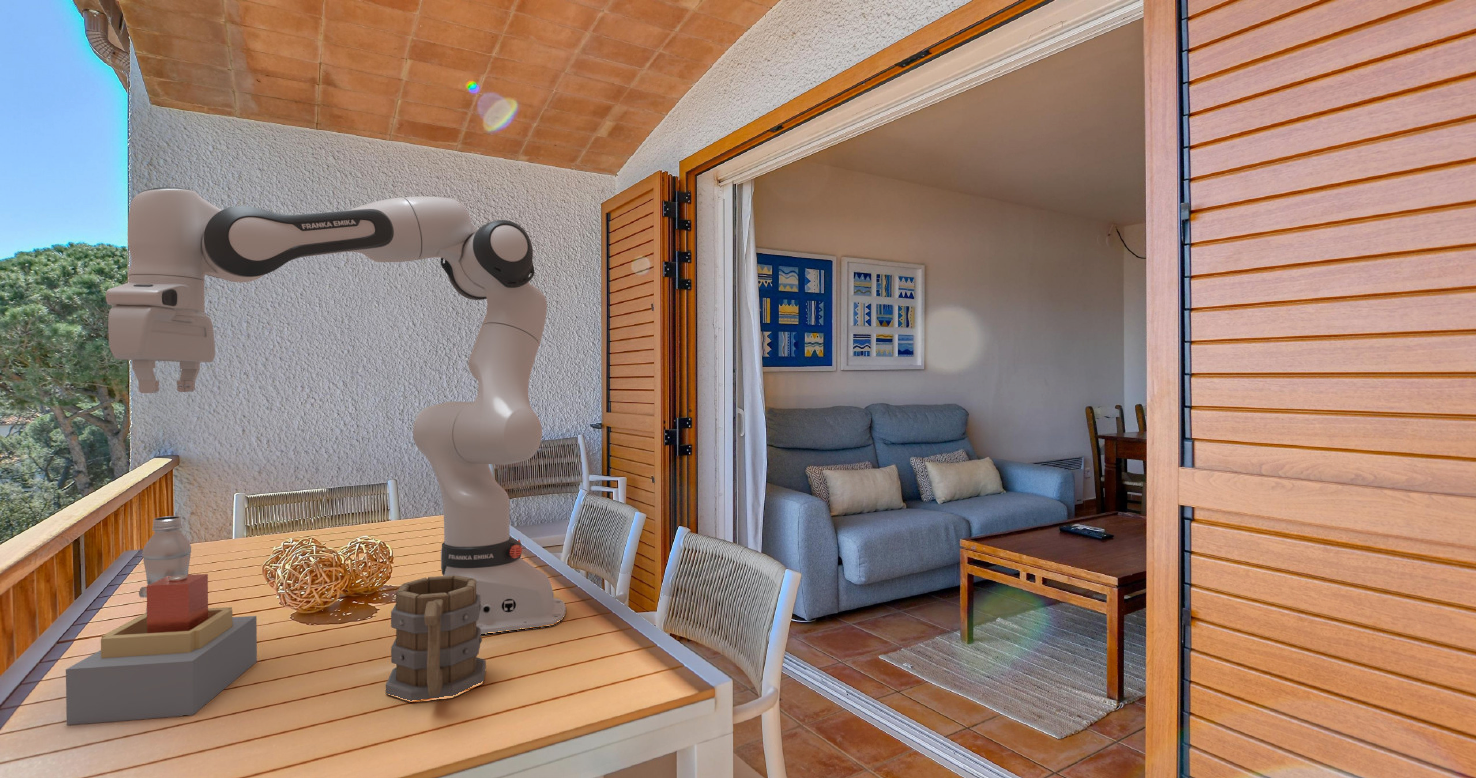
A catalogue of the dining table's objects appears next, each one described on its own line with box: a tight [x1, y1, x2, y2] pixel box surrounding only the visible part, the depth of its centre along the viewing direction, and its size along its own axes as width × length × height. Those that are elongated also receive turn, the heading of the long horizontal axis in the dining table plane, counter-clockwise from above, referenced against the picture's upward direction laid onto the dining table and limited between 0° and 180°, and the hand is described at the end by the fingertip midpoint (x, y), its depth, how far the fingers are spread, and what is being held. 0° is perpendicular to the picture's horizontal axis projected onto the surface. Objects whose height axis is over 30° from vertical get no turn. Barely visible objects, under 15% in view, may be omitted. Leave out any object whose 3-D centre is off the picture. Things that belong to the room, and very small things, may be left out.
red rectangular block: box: [138, 573, 209, 633], centre depth 101 cm, size 7×5×8 cm
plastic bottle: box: [141, 515, 192, 614], centre depth 121 cm, size 6×7×20 cm
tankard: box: [385, 575, 487, 701], centre depth 100 cm, size 20×13×15 cm, turn 16°
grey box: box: [65, 606, 258, 726], centre depth 102 cm, size 14×20×10 cm
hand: (168, 392), depth 107 cm, fingers open, 8 cm apart
